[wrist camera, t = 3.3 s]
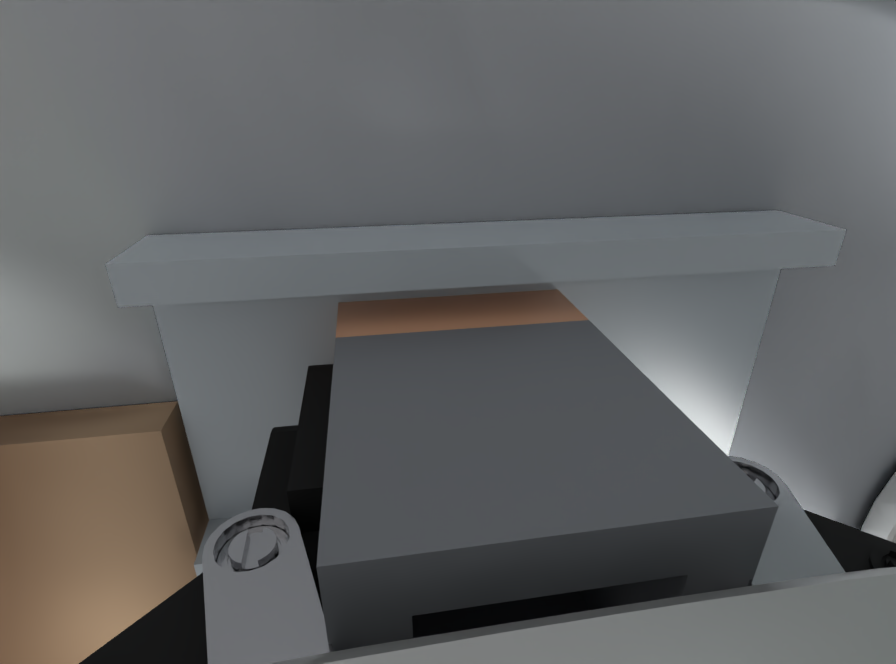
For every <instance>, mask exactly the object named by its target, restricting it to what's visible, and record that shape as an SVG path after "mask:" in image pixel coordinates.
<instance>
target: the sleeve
mask: <svg viewBox="0 0 896 664" xmlns="http://www.w3.org/2000/svg"><path fill="white" fill-rule="evenodd" d="M778 507H779V506H778V505H777V504H776V503H775V502H774V501H773V500H772V499H771V498H770V497H769V496H768V495H767V494H766V493H765V492H764V491H763V490H762V489H761V488H760V487H759V486H758V485H757V484H756V483H755V482H754V481H753V480H752V479H750V478H749V477H748V476H747V475H746V474H745V473H744V472H743V471H742V470H741V469H740V468H739V467H738V466H737V465H736V464H735V463H734V462H733V461H732V460H731V459H730V458H729V457H728V456H727V455H726V454H725V453H724V452H723V451H722V450H721V449H720V448H719V447H718V446H717V445H716V444H715V443H714V442H713V441H712V440H711V439H710V438H709V437H708V436H707V435H706V434H705V433H704V432H703V431H702V430H701V429H700V428H699V427H697V426H696V425H695V424H694V423H693V422H692V421H691V420H690V419H689V418H688V417H687V416H686V415H685V414H684V413H683V412H682V411H681V410H680V409H679V408H678V407H677V406H676V405H675V404H674V403H673V402H672V401H671V400H670V399H669V398H668V397H667V396H666V395H665V394H664V393H663V392H662V391H661V390H660V389H659V388H658V387H657V386H656V385H655V384H654V383H653V382H652V381H651V380H650V379H649V378H648V377H647V376H646V375H645V374H643V373H642V372H641V371H640V370H639V369H638V368H637V367H636V366H635V365H634V364H633V363H632V362H631V361H630V360H629V359H628V358H627V357H626V356H625V355H624V354H623V353H622V352H621V351H620V350H619V349H618V348H617V347H616V346H615V345H614V344H613V343H612V342H611V341H610V340H609V339H608V338H607V337H606V336H605V335H604V334H603V333H602V332H601V331H600V330H599V329H598V328H597V327H596V326H595V325H594V324H593V323H592V322H590V321H589V320H588V319H587V318H586V317H585V316H584V315H583V314H582V313H581V312H580V311H579V310H578V309H577V308H576V307H575V306H574V305H573V304H572V303H571V302H570V301H569V300H568V299H567V298H566V297H565V296H564V295H563V294H562V293H561V292H560V291H559V290H558V289H554V290H537V291H520V292H504V293H487V294H471V295H454V296H437V297H421V298H404V299H387V300H371V301H354V302H338V314H337V326H336V338H335V350H334V362H333V374H332V386H331V398H330V410H329V422H328V434H327V446H326V458H325V470H324V482H323V494H322V506H321V518H320V530H319V542H318V554H317V566H316V568H317V574H318V581H319V587H320V593H321V600H322V606H323V613H324V619H325V626H326V632H327V639H328V644H332V646H333V650H334V652H335V651H340V650H346V649H351V648H357V647H363V646H369V645H375V644H382V643H388V642H394V641H400V640H406V639H413V638H419V637H425V636H431V635H437V634H444V633H450V632H456V631H462V630H468V629H474V628H481V627H487V626H493V625H499V624H505V623H512V622H518V621H525V620H531V619H537V618H544V617H550V616H557V615H563V614H569V613H576V612H582V611H588V610H595V609H601V608H608V607H614V606H621V605H627V604H634V603H640V602H647V601H653V600H660V599H666V598H673V597H679V596H686V595H693V594H699V593H706V592H713V591H720V590H726V589H733V588H740V587H746V586H748V583H749V580H751V579H753V578H754V575H755V572H756V569H757V566H758V564H759V561H760V558H761V555H762V552H763V549H764V546H765V544H766V541H767V538H768V535H769V532H770V529H771V527H772V524H773V521H774V518H775V515H776V512H777V510H778Z"/></svg>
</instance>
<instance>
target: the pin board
mask: <svg viewBox="0 0 896 664" xmlns="http://www.w3.org/2000/svg"><path fill="white" fill-rule="evenodd" d="M208 522H209V518H208V514H207V510H206V506H205V502H204V499H203V495H202V491H201V487H200V483H199V480H198V476H197V472H196V468H195V464H194V461H193V457H192V453H191V449H190V446H189V442H188V438H187V434H186V430H185V427H184V423H183V419H182V415H181V411H180V408H179V404H178V401H175V402H163V403H151V404H139V405H127V406H115V407H103V408H91V409H79V410H67V411H55V412H43V413H31V414H19V415H7V416H0V664H79V663H80V662H81V661H83V660H84V659H86V658H87V657H88V656H90V655H91V654H92V653H94V652H95V651H96V650H98V649H99V648H100V647H102V646H103V645H105V644H106V643H107V642H109V641H110V640H111V639H113V638H114V637H115V636H117V635H118V634H120V633H121V632H122V631H124V630H125V629H126V628H128V627H129V626H130V625H132V624H133V623H135V622H136V621H137V620H139V619H140V618H141V617H143V616H144V615H145V614H147V613H148V612H149V611H151V610H152V609H154V608H155V607H156V606H158V605H159V604H160V603H162V602H163V601H164V600H166V599H167V598H169V597H170V596H171V595H173V594H174V593H175V592H177V591H178V590H179V589H181V588H182V587H183V586H185V585H186V584H188V583H189V582H190V581H192V580H193V579H194V578H196V577H197V575H196V571H195V568H194V562H195V560H196V557H197V554H198V551H199V548H200V545H201V542H202V539H203V536H204V533H205V530H206V527H207V525H208Z"/></svg>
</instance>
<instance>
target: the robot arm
mask: <svg viewBox="0 0 896 664" xmlns="http://www.w3.org/2000/svg"><path fill="white" fill-rule="evenodd" d="M332 374H333V364H324V365H311V366H308V370H307V376H306V382H305V388H304V394H303V399H302V405H301V411H300V417H299V423H298V425H293V426H282V427H274V428H272V431H271V434H270V438H269V442H268V446H267V450H266V454H265V458H264V462H263V466H262V470H261V474H260V478H259V482H258V486H257V490H256V494H255V498H254V502H253V506H252V510H249V511H246V512H243V513H241V514H238V515H236V516H233V517H232V518H230V519H229V520H227V521H226V522H224V523H223V524H221V525H220V526H219V527H218V528H217V529H216V530H215V531H214V532H213V533H212V534H211V535H210V537H209V538H208V540H207V542H206V544H205V545H204V549H203V555H202V566H203V573H201V574H200V575H198V576H197V577H196V578H194V579H193V580H192V581H190V582H189V583H188V584H186V585H185V586H183V587H182V588H181V589H179V590H178V591H177V592H175V593H174V594H173V595H171V596H170V597H169V598H167V599H166V600H164V601H163V602H162V603H160V604H159V605H158V606H156V607H155V608H154V609H152V610H151V611H149V612H148V613H147V614H145V615H144V616H143V617H141V618H140V619H139V620H137V621H136V622H135V623H133V624H132V625H130V626H129V627H128V628H126V629H125V630H124V631H122V632H121V633H120V634H118V635H117V636H115V637H114V638H113V639H111V640H110V641H109V642H107V643H106V644H105V645H103V646H102V647H100V648H99V649H98V650H96V651H95V652H94V653H92V654H91V655H90V656H88V657H87V658H86V659H84V660H83V661H81V662H80V663H79V664H896V471H895V473H894V474H893V475H892V477H891V478H890V480H889V481H888V482H887V484H886V485H885V487H884V488H883V490H882V491H881V492H880V494H879V495H878V497H877V498H876V500H875V501H874V503H873V505H872V507H871V509H870V511H869V513H868V515H867V517H866V519H865V521H864V523H863V525H862V528H861V530H858V529H855V528H853V527H850V526H847V525H844V524H842V523H839V522H836V521H833V520H831V519H828V518H825V517H823V516H820V515H817V514H814V513H812V512H809V511H806V510H803V509H802V507H801V506H800V504H799V503H798V501H797V500H796V498H795V497H794V495H793V494H792V493H791V491H790V490H789V488H788V487H787V485H786V484H785V483H784V482H783V481H782V479H781V478H780V477H779V476H778V475H776V474H775V473H773V472H772V471H771V470H769V469H768V468H766V467H764V466H762V465H760V464H758V463H756V462H753V461H750V460H747V459H744V458H740V457H734V456H728V457H729V458H730V459H731V460H732V461H733V462H734V463H735V464H736V465H737V466H738V467H739V468H740V469H741V470H742V471H743V472H744V473H745V474H746V475H747V476H748V477H749V478H750V479H752V480H753V481H754V482H755V483H756V484H757V485H758V486H759V487H760V488H761V489H762V490H763V491H764V492H765V493H766V494H767V495H768V496H769V497H770V498H771V499H772V500H773V501H774V502H775V503H776V504H777V505H778V506H779V507H778V510H777V512H776V515H775V518H774V521H773V524H772V527H771V529H770V532H769V535H768V538H767V541H766V544H765V546H764V549H763V552H762V555H761V558H760V561H759V564H758V566H757V569H756V572H755V575H754V578H753V579H751V580H749V583H748V586H746V587H740V588H733V589H726V590H720V591H713V592H706V593H699V594H693V595H686V596H679V597H673V598H666V599H660V600H653V601H647V602H640V603H634V604H627V605H621V606H614V607H608V608H601V609H595V610H588V611H582V612H576V613H569V614H563V615H557V616H550V617H544V618H537V619H531V620H525V621H518V622H512V623H505V624H499V625H493V626H487V627H481V628H474V629H468V630H462V631H456V632H450V633H444V634H437V635H431V636H425V637H419V638H413V639H406V640H400V641H394V642H388V643H382V644H375V645H369V646H363V647H357V648H351V649H346V650H340V651H335V652H334V650H333V646H332V644H328V639H327V632H326V626H325V619H324V613H323V606H322V600H321V593H320V587H319V581H318V574H317V568H316V566H317V554H318V542H319V530H320V518H321V506H322V494H323V482H324V470H325V458H326V446H327V434H328V422H329V410H330V398H331V386H332Z"/></svg>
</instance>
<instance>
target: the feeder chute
mask: <svg viewBox="0 0 896 664" xmlns="http://www.w3.org/2000/svg"><path fill="white" fill-rule="evenodd" d="M846 231H847V229H843V228H839V227H836V226H832V225H829V224H825V223H822V222H818V221H815V220H811V219H807V218H804V217H800V216H797V215H793V214H790V213H786V212H783V211H779V210H769V211H743V212H718V213H693V214H668V215H643V216H617V217H592V218H567V219H542V220H516V221H491V222H466V223H441V224H415V225H390V226H365V227H340V228H315V229H289V230H264V231H239V232H214V233H188V234H163V235H147V236H145V237H144V238H142V239H141V240H139V241H138V242H137V243H135V244H134V245H132V246H131V247H129V248H128V249H126V250H125V251H124V252H122V253H121V254H119V255H118V256H116V257H115V258H113V259H112V260H110V261H109V262H108V263H106V264H105V266H106V269H107V273H108V276H109V280H110V283H111V286H112V290H113V293H114V297H115V300H116V303H117V307H118V308H119V307H136V306H153V309H154V312H155V316H156V320H157V324H158V328H159V331H160V335H161V339H162V343H163V347H164V350H165V354H166V358H167V362H168V366H169V369H170V373H171V377H172V381H173V385H174V388H175V392H176V396H177V400H178V404H179V407H180V411H181V415H182V419H183V423H184V426H185V430H186V434H187V438H188V442H189V445H190V449H191V453H192V457H193V460H194V464H195V468H196V472H197V476H198V479H199V483H200V487H201V491H202V495H203V498H204V502H205V506H206V510H207V514H208V517H209V522H208V525H207V527H206V530H205V533H204V536H203V539H202V542H201V545H200V548H199V551H198V554H197V557H196V560H195V562H194V568H195V571H196V575H197V576H198V575H200V574H201V573H203V566H202V555H203V549H204V545H205V544H206V542H207V540H208V538H209V537H210V535H211V534H212V533H213V532H214V531H215V530H216V529H217V528H218V527H219V526H220V525H221V524H223V523H224V522H226V521H227V520H229V519H230V518H232V517H233V516H236V515H238V514H241V513H243V512H246V511H249V510H252V506H253V502H254V498H255V494H256V490H257V486H258V482H259V478H260V474H261V470H262V466H263V462H264V458H265V454H266V450H267V446H268V442H269V438H270V434H271V431H272V428H274V427H282V426H293V425H298V423H299V417H300V411H301V405H302V399H303V394H304V388H305V382H306V376H307V370H308V366H311V365H324V364H333V362H334V350H335V338H336V326H337V314H338V302H354V301H371V300H387V299H404V298H421V297H437V296H454V295H471V294H487V293H504V292H520V291H537V290H554V289H558V290H559V291H560V292H561V293H562V294H563V295H564V296H565V297H566V298H567V299H568V300H569V301H570V302H571V303H572V304H573V305H574V306H575V307H576V308H577V309H578V310H579V311H580V312H581V313H582V314H583V315H584V316H585V317H586V318H587V319H588V320H589V321H590V322H592V323H593V324H594V325H595V326H596V327H597V328H598V329H599V330H600V331H601V332H602V333H603V334H604V335H605V336H606V337H607V338H608V339H609V340H610V341H611V342H612V343H613V344H614V345H615V346H616V347H617V348H618V349H619V350H620V351H621V352H622V353H623V354H624V355H625V356H626V357H627V358H628V359H629V360H630V361H631V362H632V363H633V364H634V365H635V366H636V367H637V368H638V369H639V370H640V371H641V372H642V373H643V374H645V375H646V376H647V377H648V378H649V379H650V380H651V381H652V382H653V383H654V384H655V385H656V386H657V387H658V388H659V389H660V390H661V391H662V392H663V393H664V394H665V395H666V396H667V397H668V398H669V399H670V400H671V401H672V402H673V403H674V404H675V405H676V406H677V407H678V408H679V409H680V410H681V411H682V412H683V413H684V414H685V415H686V416H687V417H688V418H689V419H690V420H691V421H692V422H693V423H694V424H695V425H696V426H697V427H699V428H700V429H701V430H702V431H703V432H704V433H705V434H706V435H707V436H708V437H709V438H710V439H711V440H712V441H713V442H714V443H715V444H716V445H717V446H718V447H719V448H720V449H721V450H722V451H723V452H724V453H725V454H726V455H727V456H728V455H729V452H730V448H731V444H732V441H733V437H734V434H735V430H736V427H737V423H738V420H739V416H740V413H741V409H742V406H743V402H744V399H745V395H746V391H747V388H748V384H749V381H750V377H751V374H752V370H753V367H754V363H755V360H756V356H757V353H758V349H759V346H760V342H761V339H762V335H763V331H764V328H765V324H766V321H767V317H768V314H769V310H770V307H771V303H772V300H773V296H774V293H775V289H776V286H777V282H778V279H779V275H780V271H781V269H790V268H808V267H825V266H835V264H836V261H837V258H838V255H839V252H840V249H841V246H842V243H843V240H844V237H845V234H846Z"/></svg>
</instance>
